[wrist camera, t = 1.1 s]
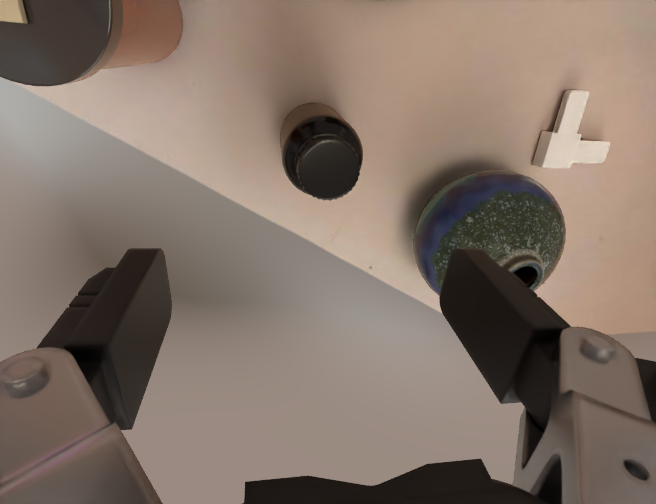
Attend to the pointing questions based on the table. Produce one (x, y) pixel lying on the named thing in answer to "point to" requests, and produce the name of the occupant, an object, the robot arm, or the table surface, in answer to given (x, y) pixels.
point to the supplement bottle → (320, 151)
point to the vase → (491, 226)
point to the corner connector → (569, 137)
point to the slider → (12, 11)
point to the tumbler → (86, 38)
